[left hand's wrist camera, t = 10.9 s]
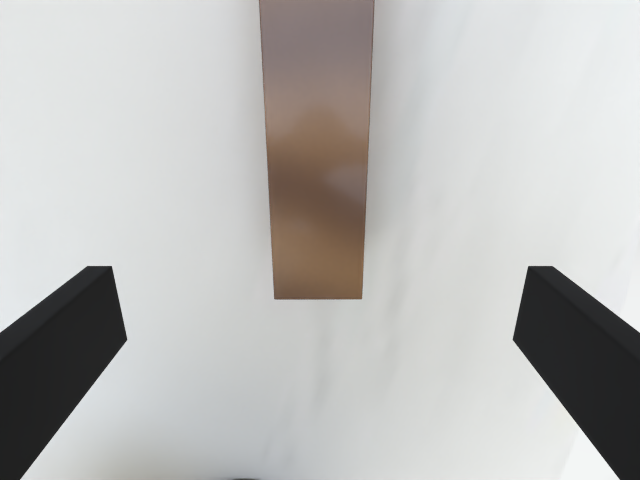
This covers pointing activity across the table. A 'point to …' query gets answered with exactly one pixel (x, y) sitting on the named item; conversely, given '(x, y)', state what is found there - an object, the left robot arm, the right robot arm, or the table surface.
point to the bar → (317, 142)
